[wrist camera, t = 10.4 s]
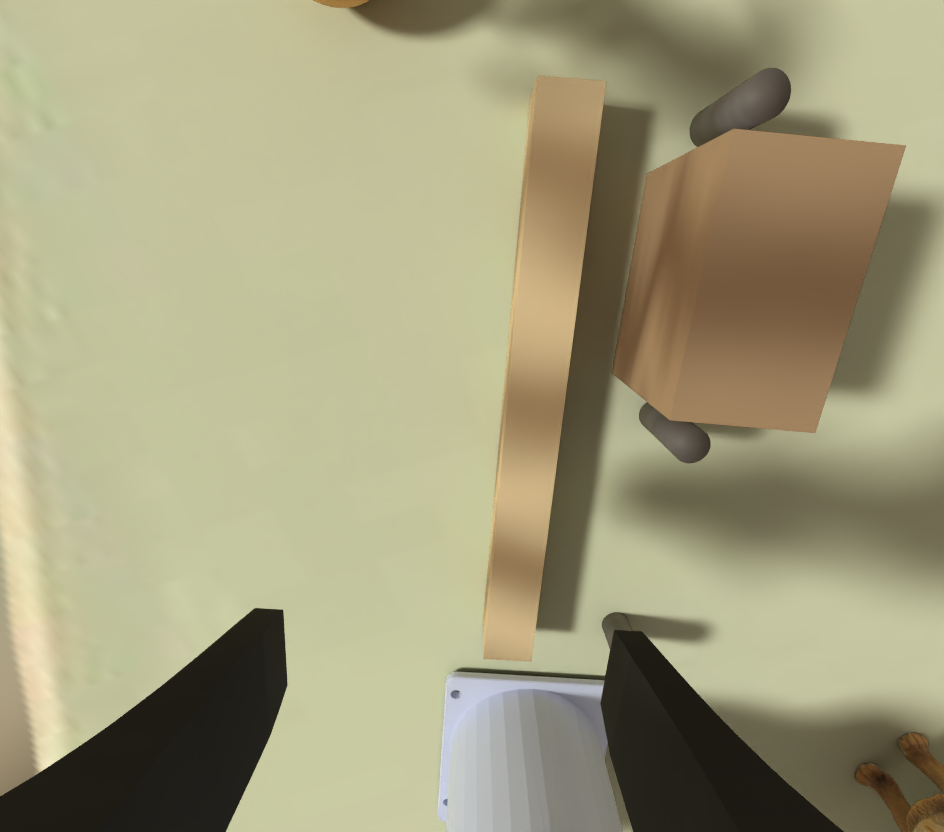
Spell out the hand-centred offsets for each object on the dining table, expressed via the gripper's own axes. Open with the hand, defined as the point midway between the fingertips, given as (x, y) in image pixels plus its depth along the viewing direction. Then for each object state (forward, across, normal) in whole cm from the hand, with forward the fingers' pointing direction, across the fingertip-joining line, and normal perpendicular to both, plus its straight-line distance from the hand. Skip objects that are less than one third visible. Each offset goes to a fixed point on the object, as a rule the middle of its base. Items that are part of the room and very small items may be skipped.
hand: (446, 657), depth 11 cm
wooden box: (+10, -8, -8) cm, 15 cm away
